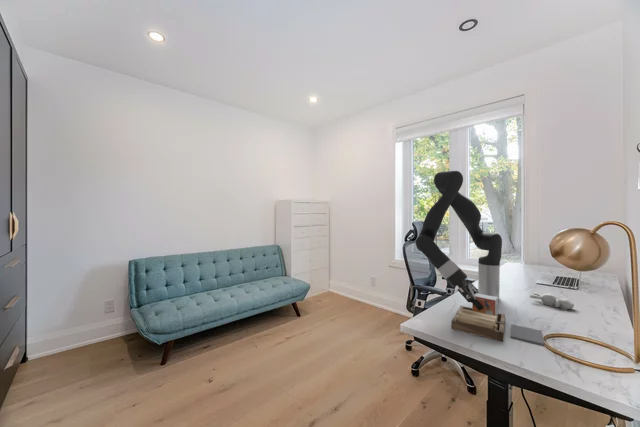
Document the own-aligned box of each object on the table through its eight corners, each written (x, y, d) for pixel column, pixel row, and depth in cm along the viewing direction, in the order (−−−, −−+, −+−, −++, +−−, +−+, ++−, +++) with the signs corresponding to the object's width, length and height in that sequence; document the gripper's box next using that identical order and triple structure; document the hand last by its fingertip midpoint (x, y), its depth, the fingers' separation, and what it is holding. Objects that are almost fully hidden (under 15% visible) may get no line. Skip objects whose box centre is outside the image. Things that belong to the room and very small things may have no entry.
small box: (471, 321, 106) (472, 295, 106) (475, 317, 110) (475, 292, 110) (495, 327, 101) (495, 300, 101) (498, 323, 105) (498, 296, 105)
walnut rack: (460, 312, 116) (460, 305, 116) (505, 321, 106) (505, 314, 106) (451, 328, 100) (451, 320, 100) (502, 341, 90) (503, 332, 90)
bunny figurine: (571, 303, 116) (529, 291, 128) (569, 314, 117) (527, 301, 129) (576, 299, 122) (535, 287, 134) (574, 309, 122) (533, 297, 134)
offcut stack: (460, 323, 105) (460, 308, 105) (497, 332, 97) (497, 316, 97) (456, 328, 101) (456, 312, 101) (495, 338, 93) (495, 321, 93)
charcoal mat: (511, 325, 103) (511, 324, 103) (541, 332, 97) (541, 330, 97) (510, 337, 93) (510, 335, 93) (543, 345, 88) (543, 343, 88)
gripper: (455, 270, 105) (489, 305, 99) (461, 264, 117) (492, 296, 110) (441, 281, 109) (472, 316, 102) (448, 275, 120) (477, 305, 113)
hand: (483, 305), depth 106 cm, fingers open, 8 cm apart
